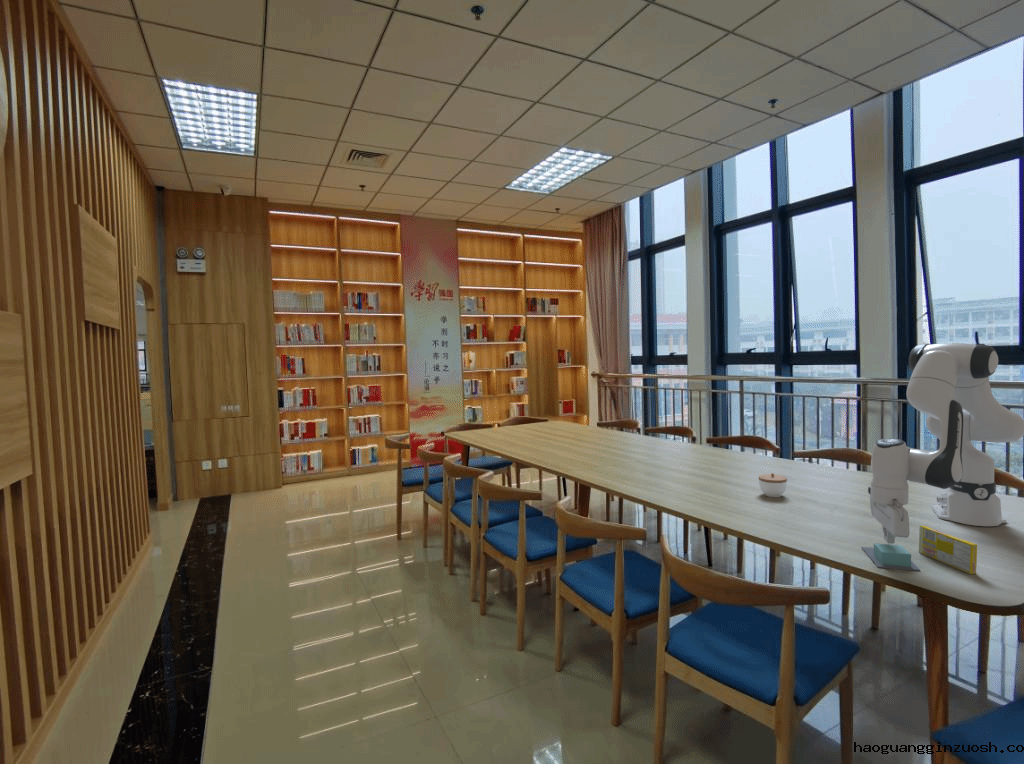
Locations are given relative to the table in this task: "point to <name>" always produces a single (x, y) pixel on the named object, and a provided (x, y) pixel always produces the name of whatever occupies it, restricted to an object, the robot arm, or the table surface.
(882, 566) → the felt mat
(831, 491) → the table surface
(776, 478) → the lidded jar
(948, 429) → the robot arm
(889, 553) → the teal rectangular prism
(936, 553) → the candy box
